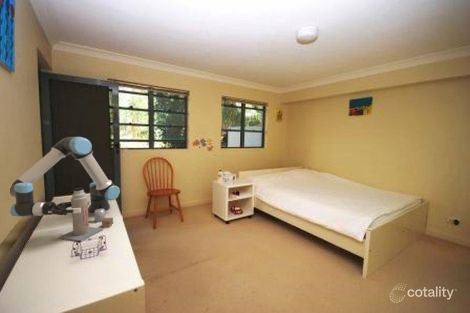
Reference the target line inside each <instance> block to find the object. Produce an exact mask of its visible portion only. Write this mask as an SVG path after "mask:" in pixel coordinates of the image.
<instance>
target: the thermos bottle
mask: <svg viewBox="0 0 470 313" xmlns="http://www.w3.org/2000/svg"><path fill="white" fill-rule="evenodd" d="M86 194H87V193H86V192H85V190H84V187H76V188H73V193H72V194H71V198H70V202H71V206H72V207H71V208H81V213H71V215H72V216H71V218H72V231H73V234H74V235H83V234H86V233H88V232H89V227H90V224H89V211H88V208H89V205H88V203H87V201H88V196H87V195H86Z"/></svg>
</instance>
